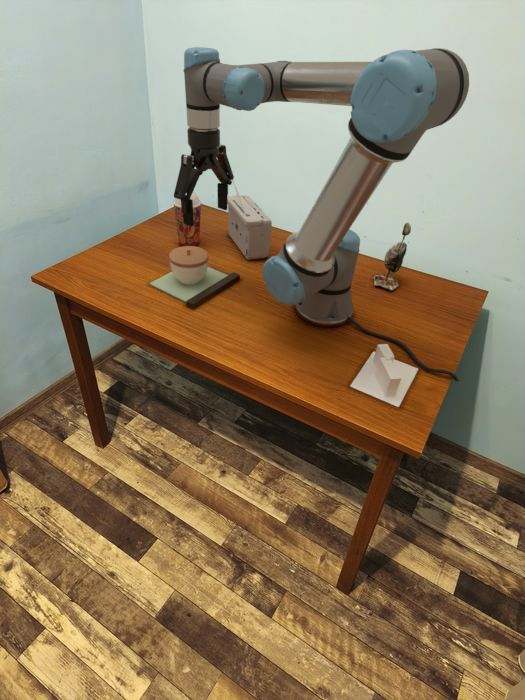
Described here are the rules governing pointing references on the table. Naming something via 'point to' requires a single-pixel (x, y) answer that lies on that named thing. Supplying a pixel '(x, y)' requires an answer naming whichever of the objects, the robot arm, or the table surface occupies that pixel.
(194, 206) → the smoothie
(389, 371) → the napkin holder
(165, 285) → the mat
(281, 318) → the table surface
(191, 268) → the trinket box
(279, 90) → the robot arm
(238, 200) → the radio
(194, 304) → the divider
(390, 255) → the plant with pod
